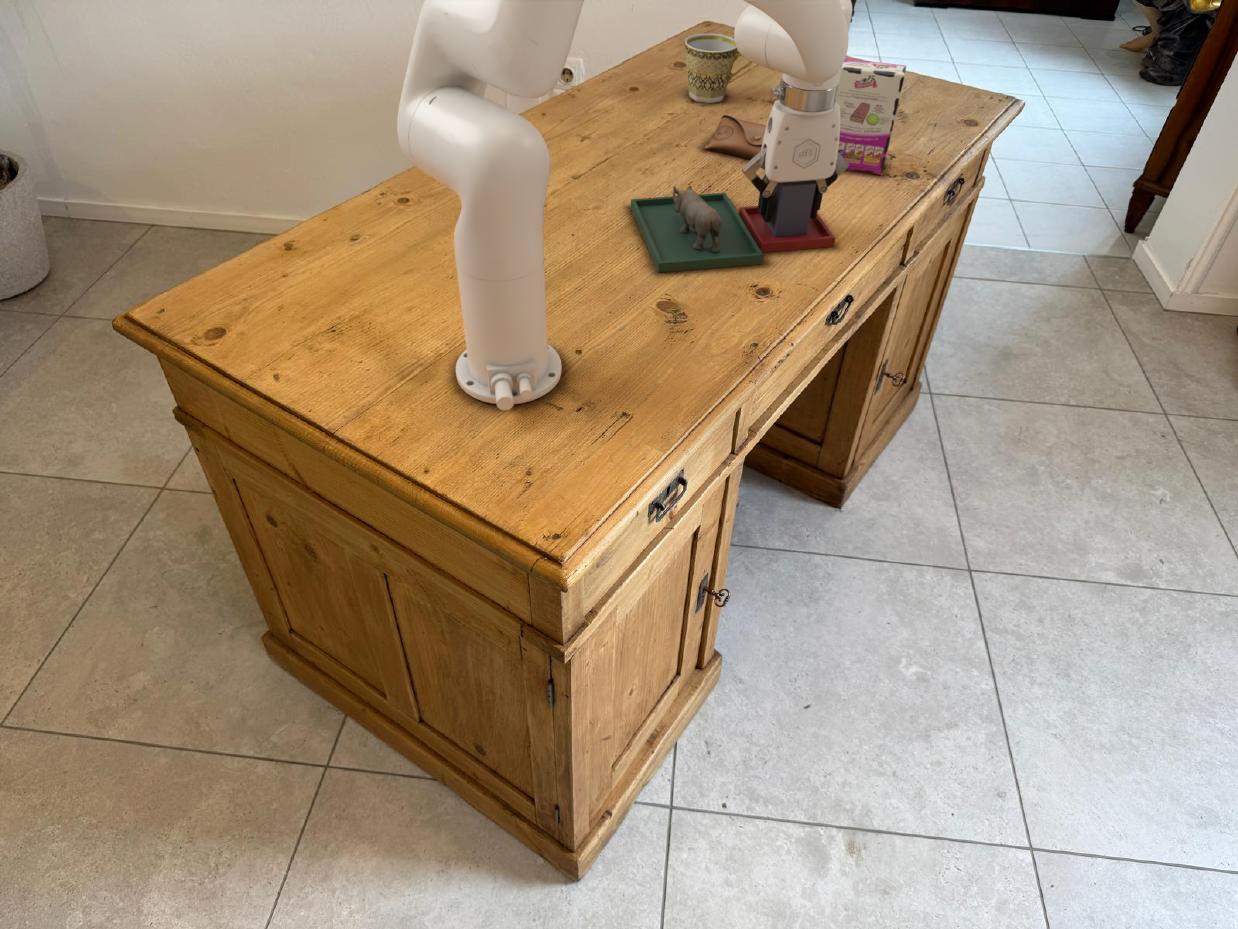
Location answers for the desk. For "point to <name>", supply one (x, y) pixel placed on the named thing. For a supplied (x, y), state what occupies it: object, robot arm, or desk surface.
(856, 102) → the candy bar box
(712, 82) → the ceramic cup
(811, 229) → the burgundy tray
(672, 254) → the green tray
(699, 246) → the rhino figurine
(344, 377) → the desk surface
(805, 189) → the block
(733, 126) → the sunglasses case
